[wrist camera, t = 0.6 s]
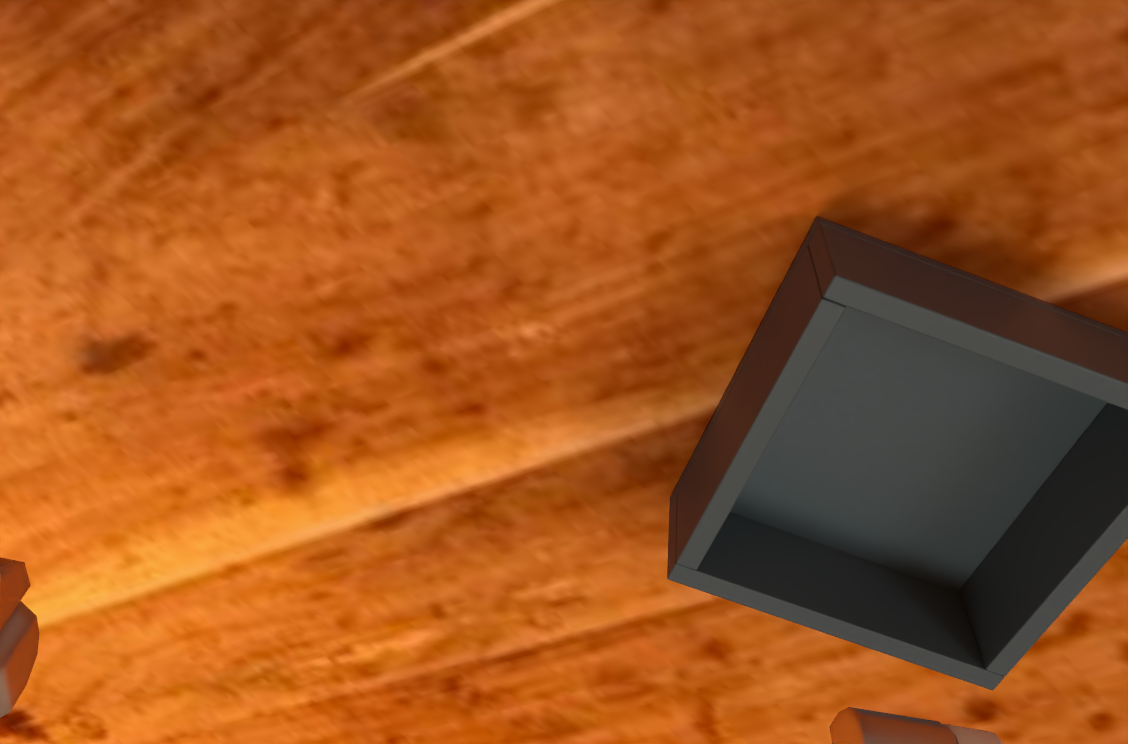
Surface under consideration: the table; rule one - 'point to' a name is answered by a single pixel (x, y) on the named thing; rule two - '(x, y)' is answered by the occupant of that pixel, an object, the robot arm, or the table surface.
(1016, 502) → the bin
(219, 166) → the table surface
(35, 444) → the table surface
